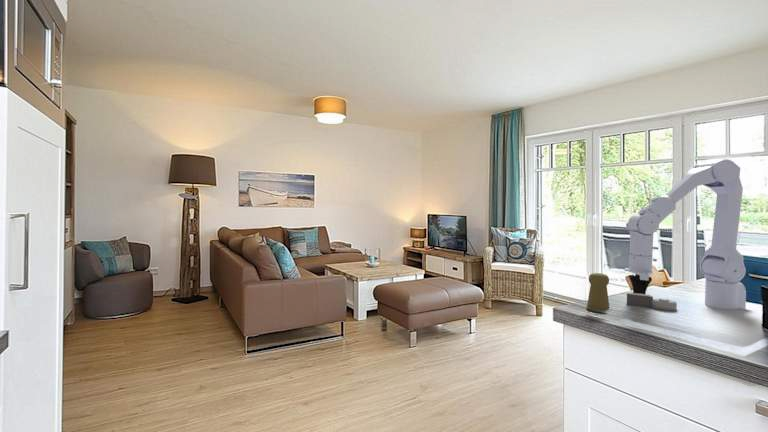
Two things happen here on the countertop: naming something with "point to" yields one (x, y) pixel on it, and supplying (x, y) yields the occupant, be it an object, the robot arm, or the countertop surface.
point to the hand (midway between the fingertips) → (639, 300)
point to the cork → (598, 292)
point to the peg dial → (651, 302)
